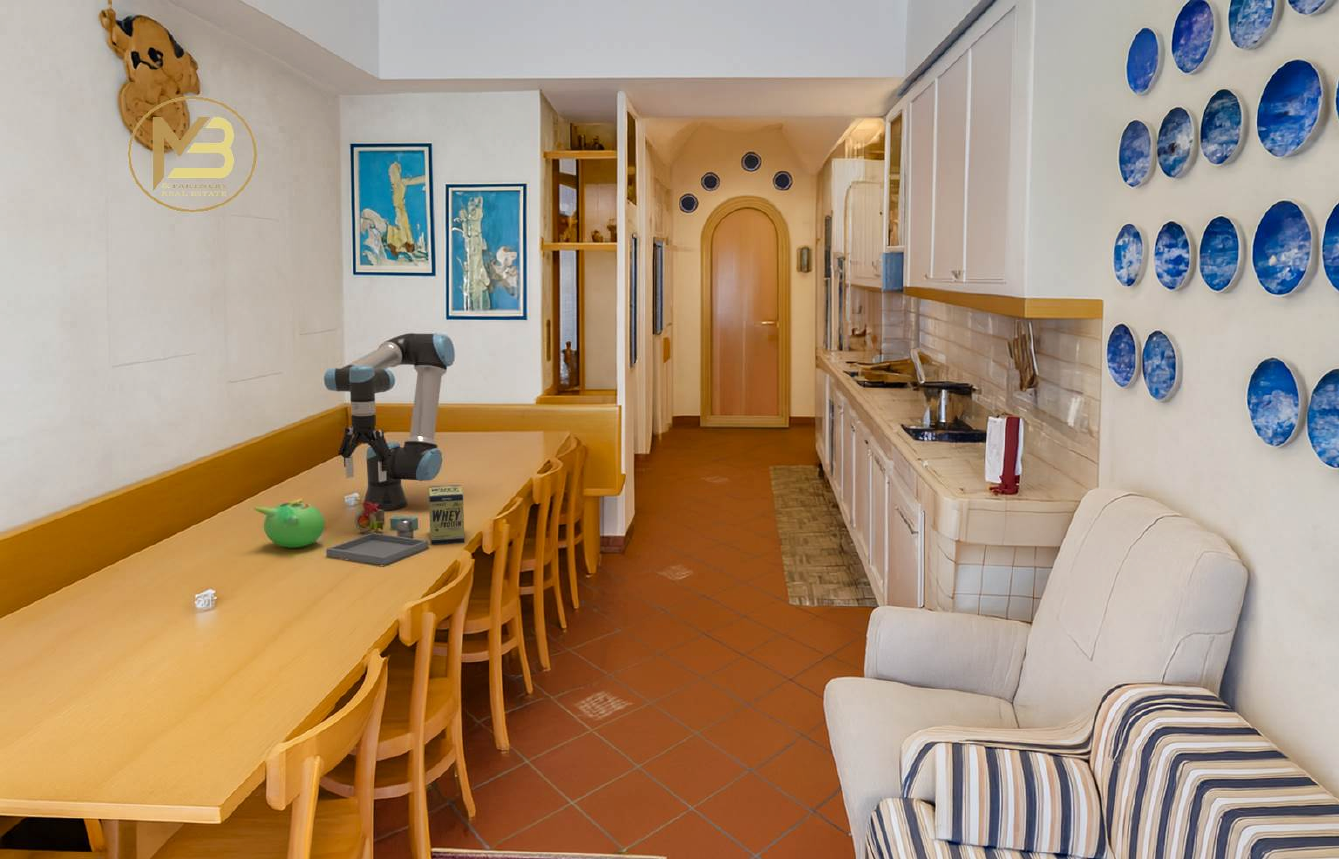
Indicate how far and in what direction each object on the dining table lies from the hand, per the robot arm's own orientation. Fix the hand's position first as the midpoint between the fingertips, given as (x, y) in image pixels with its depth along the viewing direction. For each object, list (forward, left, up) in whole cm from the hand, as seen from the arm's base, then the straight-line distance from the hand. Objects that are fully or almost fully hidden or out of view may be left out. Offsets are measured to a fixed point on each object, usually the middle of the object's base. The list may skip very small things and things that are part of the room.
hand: (366, 479), depth 306 cm
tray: (+16, +18, -18) cm, 30 cm away
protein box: (-7, +26, -18) cm, 33 cm away
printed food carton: (0, 0, -18) cm, 18 cm away
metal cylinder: (0, +15, -18) cm, 23 cm away
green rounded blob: (+22, -10, -18) cm, 30 cm away
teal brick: (-9, +7, -18) cm, 22 cm away
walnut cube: (-9, -6, -18) cm, 21 cm away
